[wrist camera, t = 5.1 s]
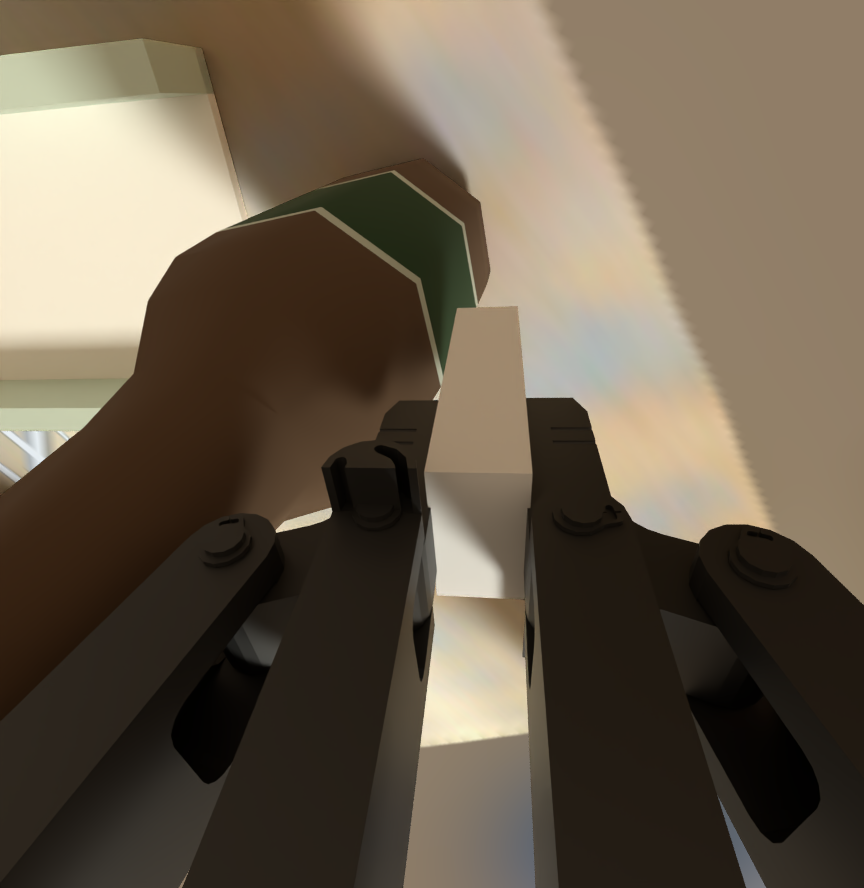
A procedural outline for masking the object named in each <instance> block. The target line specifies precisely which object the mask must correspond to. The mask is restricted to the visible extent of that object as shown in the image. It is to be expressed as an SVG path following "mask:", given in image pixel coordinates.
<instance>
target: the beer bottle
mask: <svg viewBox="0 0 864 888" xmlns="http://www.w3.org/2000/svg"><path fill="white" fill-rule="evenodd" d="M489 274H490V264H489V258H488V251H487V244H486V238H485V231H484V224H483V218H482V211H481V204H480V202H479V201H478V200H477V199H476V198H474V197H473V196H472V195H470V194H469V193H468V192H467V191H465V190H464V189H463V188H461V187H460V186H459V185H458V184H456V183H455V182H454V181H452V180H451V179H450V178H449V177H447V176H446V175H445V174H443V173H442V172H441V171H439V170H438V169H437V168H436V167H434V166H433V165H432V164H430V163H429V162H428V161H427V160H425V159H424V158H422V159H418V160H414V161H410V162H406V163H402V164H398V165H393V166H389V167H385V168H381V169H377V170H373V171H369V172H364V173H360V174H356V175H353V176H349V177H345V178H342V179H340V180H337V181H335V182H333V183H330V184H328V185H326V186H323V187H321V188H319V189H316V190H314V191H312V192H309V193H307V194H305V195H302V196H300V197H298V198H295V199H293V200H290V201H288V202H286V203H283V204H281V205H279V206H276V207H274V208H272V209H269V210H267V211H265V212H262V213H260V214H258V215H255V216H253V217H251V218H248V219H246V220H244V221H241V222H239V223H237V224H234V225H232V226H230V227H227V228H225V229H223V230H220V231H218V232H216V233H214V234H212V235H211V236H209V237H208V238H206V239H204V240H203V241H201V242H199V243H198V244H196V245H194V246H193V247H191V248H189V249H188V250H186V251H184V252H183V253H181V254H179V255H178V256H176V257H175V258H174V260H173V261H172V263H171V265H170V266H169V268H168V269H167V271H166V273H165V274H164V276H163V277H162V279H161V281H160V282H159V284H158V285H157V287H156V289H155V290H154V292H153V293H152V295H151V296H150V298H149V300H148V302H147V308H146V313H145V318H144V323H143V328H142V333H141V338H140V343H139V348H138V353H137V358H136V364H135V369H134V374H133V375H132V376H131V377H130V378H129V379H128V380H127V381H126V382H125V383H124V384H123V386H122V387H121V388H120V389H119V390H118V391H117V392H116V393H115V394H114V395H113V396H112V397H111V398H110V400H109V401H108V402H107V403H106V404H105V405H104V406H103V407H102V408H101V409H100V410H99V411H98V413H97V414H96V415H95V416H94V417H93V418H92V419H91V420H90V421H89V422H88V423H87V424H86V425H85V427H84V428H83V429H81V430H80V431H79V432H78V433H76V434H75V435H74V436H73V437H72V438H70V439H69V440H68V441H67V442H65V443H64V444H63V445H62V446H60V447H59V448H58V449H57V450H56V451H54V452H53V453H52V454H51V455H49V456H48V457H47V458H46V459H45V460H43V461H42V462H41V463H40V464H38V465H37V466H36V467H35V468H34V469H32V470H31V471H30V472H29V473H27V474H26V475H25V476H24V477H23V478H21V479H20V480H19V481H18V482H16V483H15V484H14V485H13V486H12V487H10V488H9V489H8V490H7V491H5V492H4V493H3V494H2V495H1V496H0V721H1V720H2V719H3V718H5V717H6V716H7V715H8V714H9V713H10V712H11V711H12V710H13V709H14V708H15V707H16V706H17V705H18V704H19V703H20V702H21V701H22V700H23V699H24V698H25V697H26V696H27V695H28V694H29V693H30V692H31V691H32V690H33V689H34V688H35V687H36V686H37V685H38V684H39V683H40V682H41V681H42V680H43V679H44V678H45V677H46V676H47V675H48V674H50V673H51V672H52V671H53V670H54V669H55V668H56V667H57V666H58V665H59V664H60V663H61V662H62V661H63V660H64V659H65V658H66V657H67V656H68V655H69V654H70V653H71V652H72V651H73V650H74V649H75V648H76V647H77V646H78V645H79V644H80V643H81V642H82V641H83V640H84V639H85V638H86V637H87V636H88V635H89V634H90V633H91V632H92V631H93V630H95V629H96V628H97V627H98V626H99V625H100V624H101V623H102V622H103V621H104V620H105V619H106V618H107V617H108V616H109V615H110V614H111V613H112V612H113V611H114V610H115V609H116V608H117V607H118V606H119V605H120V604H121V603H122V602H123V601H124V600H125V599H126V598H127V597H128V596H129V595H130V594H131V593H132V592H133V591H134V590H135V589H136V588H137V587H138V586H140V585H141V584H142V583H143V582H144V581H145V580H146V579H147V578H148V577H149V576H150V575H151V574H152V573H153V572H154V571H155V570H156V569H157V568H158V567H159V566H160V565H161V564H162V563H163V562H164V561H165V560H166V559H167V558H168V557H169V556H170V555H171V554H172V553H173V552H174V551H175V550H176V549H177V548H178V547H179V546H180V545H181V544H182V543H183V542H185V541H186V540H187V539H188V538H189V537H190V536H191V535H192V534H194V533H195V532H196V531H197V530H199V529H200V528H201V527H203V526H204V525H206V524H208V523H210V522H212V521H214V520H217V519H219V518H221V517H224V516H229V515H234V514H238V513H248V514H258V515H260V516H262V517H264V518H266V519H268V520H269V521H270V523H271V524H272V526H273V527H274V529H275V530H276V529H277V528H278V527H279V526H280V525H281V524H282V523H283V522H284V521H286V520H290V519H293V518H296V517H300V516H303V515H307V514H310V513H313V512H317V511H320V510H323V509H327V508H330V507H331V504H330V500H329V496H328V492H327V488H326V484H325V481H324V477H323V473H322V469H321V467H322V465H323V464H324V463H325V462H326V460H327V459H328V458H329V457H330V456H331V455H332V454H334V453H336V452H337V451H339V450H340V449H342V448H343V447H346V446H349V445H352V444H355V443H358V442H362V441H372V440H376V437H377V435H378V432H380V426H381V423H382V421H383V418H384V415H385V413H386V412H387V411H389V410H390V409H391V408H392V407H393V406H394V405H395V404H396V403H397V402H398V401H409V400H433V398H434V397H435V395H436V394H437V392H438V390H439V389H440V387H441V385H442V381H443V376H444V371H445V366H446V361H447V356H448V351H449V346H450V341H451V336H452V331H453V326H454V321H455V316H456V311H457V308H476V307H477V305H478V303H479V301H480V298H481V296H482V294H483V292H484V289H485V287H486V285H487V282H488V278H489Z"/></svg>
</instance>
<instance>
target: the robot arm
mask: <svg viewBox="0 0 864 888" xmlns="http://www.w3.org/2000/svg"><path fill="white" fill-rule="evenodd" d="M321 469H322V473H323V477H324V481H325V484H326V488H327V492H328V496H329V500H330V504H331V508H332V511H333V512H332V514H331V517H330V518H329V519H327V520H325V521H323V522H320V523H317V524H314V525H310V526H306V527H302V528H297V529H292V530H288V531H283V532H278V533H276V531H275V529H274V527H273V526H272V524H271V523H270V521H269V520H268V519H266V518H264V517H262V516H260V515H258V514H248V513H238V514H234V515H229V516H224V517H221V518H219V519H217V520H214V521H212V522H210V523H208V524H206V525H204V526H203V527H201V528H200V529H199V530H197V531H196V532H195V533H194V534H192V535H191V536H190V537H189V538H188V539H187V540H186V541H185V542H183V543H182V544H181V545H180V546H179V547H178V548H177V549H176V550H175V551H174V552H173V553H172V554H171V555H170V556H169V557H168V558H167V559H166V560H165V561H164V562H163V563H162V564H161V565H160V566H159V567H158V568H157V569H156V570H155V571H154V572H153V573H152V574H151V575H150V576H149V577H148V578H147V579H146V580H145V581H144V582H143V583H142V584H141V585H140V586H138V587H137V588H136V589H135V590H134V591H133V592H132V593H131V594H130V595H129V596H128V597H127V598H126V599H125V600H124V601H123V602H122V603H121V604H120V605H119V606H118V607H117V608H116V609H115V610H114V611H113V612H112V613H111V614H110V615H109V616H108V617H107V618H106V619H105V620H104V621H103V622H102V623H101V624H100V625H99V626H98V627H97V628H96V629H95V630H93V631H92V632H91V633H90V634H89V635H88V636H87V637H86V638H85V639H84V640H83V641H82V642H81V643H80V644H79V645H78V646H77V647H76V648H75V649H74V650H73V651H72V652H71V653H70V654H69V655H68V656H67V657H66V658H65V659H64V660H63V661H62V662H61V663H60V664H59V665H58V666H57V667H56V668H55V669H54V670H53V671H52V672H51V673H50V674H48V675H47V676H46V677H45V678H44V679H43V680H42V681H41V682H40V683H39V684H38V685H37V686H36V687H35V688H34V689H33V690H32V691H31V692H30V693H29V694H28V695H27V696H26V697H25V698H24V699H23V700H22V701H21V702H20V703H19V704H18V705H17V706H16V707H15V708H14V709H13V710H12V711H11V712H10V713H9V714H8V715H7V716H6V717H5V718H3V719H2V720H1V721H0V888H179V886H180V884H181V883H182V881H183V880H184V878H185V876H186V874H187V873H188V875H187V877H186V880H185V882H184V885H183V887H182V888H403V885H404V875H405V868H406V860H407V850H408V842H409V834H410V826H411V817H412V809H413V801H414V792H415V784H416V775H417V768H418V759H419V751H420V743H421V734H422V726H423V718H424V709H425V701H426V692H427V684H428V676H429V667H430V659H431V651H432V642H433V634H434V626H435V624H434V614H433V606H432V605H433V598H434V590H435V582H436V591H437V595H441V596H461V597H482V598H502V599H523V600H525V625H524V640H523V656H522V657H525V660H526V682H527V705H528V728H529V751H530V772H531V794H532V819H533V841H534V861H535V862H534V863H535V885H536V888H746V886H745V883H744V880H743V876H742V873H741V870H740V867H739V863H738V860H737V857H736V854H735V851H734V847H733V844H732V841H731V838H730V834H729V831H728V828H727V825H726V822H725V818H724V815H723V812H722V809H721V806H720V802H719V800H718V797H719V799H720V801H721V802H722V804H723V806H724V808H725V810H726V812H727V814H728V816H729V817H730V819H731V821H732V823H733V825H734V827H735V829H736V831H737V833H738V835H739V837H740V839H741V841H742V842H743V844H744V846H745V848H746V850H747V852H748V854H749V856H750V858H751V860H752V862H753V863H754V865H755V867H756V869H757V871H758V873H759V874H760V877H761V879H762V880H763V882H764V884H765V886H766V888H864V605H863V604H862V603H861V602H860V601H859V600H858V599H857V598H856V597H855V596H854V595H852V593H851V592H849V591H848V589H846V588H845V586H843V585H842V584H841V583H840V582H839V581H838V580H837V579H836V578H835V577H834V576H833V575H832V574H831V573H830V572H829V571H828V570H827V569H826V568H825V567H824V566H823V565H822V564H821V563H820V562H819V561H818V560H817V559H816V558H815V557H814V556H813V555H812V554H810V553H809V552H807V551H806V550H805V549H803V548H802V547H801V546H799V545H798V544H797V543H795V542H794V541H793V540H791V539H788V538H786V537H784V536H782V535H780V534H778V533H776V532H773V531H771V530H768V529H764V528H759V527H755V526H751V525H723V526H720V527H717V528H714V529H711V530H709V531H708V532H707V533H706V535H705V536H704V537H703V538H702V539H701V540H700V542H699V544H698V543H694V542H690V541H686V540H682V539H678V538H674V537H670V536H667V535H663V534H660V533H657V532H654V531H651V530H648V529H646V528H644V527H642V526H640V525H638V524H637V523H635V522H633V521H632V519H631V517H630V516H629V514H628V512H627V511H626V509H625V507H624V506H623V505H622V504H620V503H619V502H618V501H616V500H615V499H614V498H613V497H611V494H610V491H609V487H608V484H607V480H606V477H605V473H604V470H603V466H602V462H601V459H600V455H599V452H598V448H597V445H596V444H595V438H594V434H593V431H592V427H591V423H590V420H589V416H588V413H587V411H586V410H585V409H584V408H583V407H582V406H581V405H580V404H579V403H578V402H577V401H575V400H574V399H573V398H526V395H525V384H524V372H523V361H522V350H521V339H520V327H519V316H518V306H510V307H478V308H457V311H456V316H455V321H454V326H453V331H452V336H451V341H450V346H449V351H448V356H447V361H446V366H445V371H444V376H443V381H442V386H441V391H440V396H439V400H409V401H398V402H397V403H396V404H395V405H394V406H393V407H392V408H391V409H390V410H389V411H387V412H386V413H385V415H384V418H383V421H382V423H381V426H380V432H378V435H377V437H376V440H372V441H362V442H358V443H355V444H352V445H349V446H346V447H343V448H342V449H340V450H339V451H337V452H336V453H334V454H332V455H331V456H330V457H329V458H328V459H327V460H326V462H325V463H324V464H323V465H322V467H321ZM717 795H718V796H717ZM189 869H190V870H189ZM188 871H189V872H188Z"/></svg>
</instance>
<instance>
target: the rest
mask: <svg viewBox="0 0 864 888" xmlns="http://www.w3.org/2000/svg"><path fill="white" fill-rule="evenodd" d="M246 219H248V217H247V213H246V209H245V206H244V202H243V198H242V195H241V191H240V187H239V183H238V180H237V176H236V172H235V169H234V165H233V161H232V158H231V154H230V150H229V147H228V143H227V139H226V136H225V132H224V128H223V125H222V121H221V117H220V114H219V110H218V106H217V102H216V99H215V95H214V91H213V88H212V84H211V80H210V77H209V73H208V69H207V66H206V62H205V58H204V55H203V51H202V48H198V47H192V46H186V45H180V44H174V43H168V42H162V41H156V40H150V39H144V38H140V39H131V40H123V41H115V42H107V43H98V44H90V45H82V46H74V47H65V48H57V49H49V50H41V51H32V52H24V53H16V54H7V55H0V431H80V430H81V429H83V428H84V427H85V425H86V424H87V423H88V422H89V421H90V420H91V419H92V418H93V417H94V416H95V415H96V414H97V413H98V411H99V410H100V409H101V408H102V407H103V406H104V405H105V404H106V403H107V402H108V401H109V400H110V398H111V397H112V396H113V395H114V394H115V393H116V392H117V391H118V390H119V389H120V388H121V387H122V386H123V384H124V383H125V382H126V381H127V380H128V379H129V378H130V377H131V376H132V375H133V374H134V369H135V364H136V358H137V353H138V348H139V343H140V338H141V333H142V328H143V323H144V318H145V313H146V308H147V302H148V300H149V298H150V296H151V295H152V293H153V292H154V290H155V289H156V287H157V285H158V284H159V282H160V281H161V279H162V277H163V276H164V274H165V273H166V271H167V269H168V268H169V266H170V265H171V263H172V261H173V260H174V258H175V257H176V256H178V255H179V254H181V253H183V252H184V251H186V250H188V249H189V248H191V247H193V246H194V245H196V244H198V243H199V242H201V241H203V240H204V239H206V238H208V237H209V236H211V235H212V234H214V233H216V232H218V231H220V230H223V229H225V228H227V227H230V226H232V225H234V224H237V223H239V222H241V221H244V220H246Z"/></svg>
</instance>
